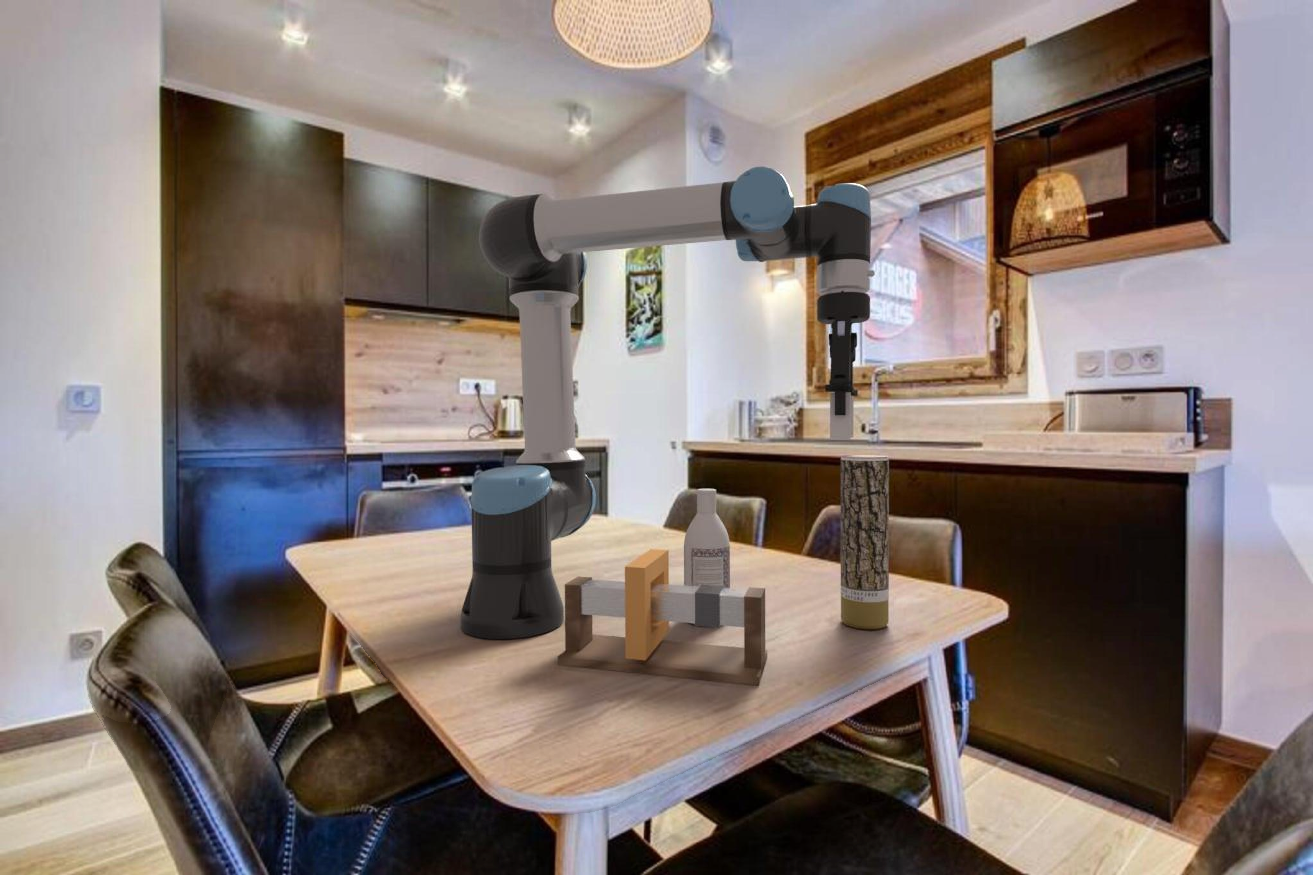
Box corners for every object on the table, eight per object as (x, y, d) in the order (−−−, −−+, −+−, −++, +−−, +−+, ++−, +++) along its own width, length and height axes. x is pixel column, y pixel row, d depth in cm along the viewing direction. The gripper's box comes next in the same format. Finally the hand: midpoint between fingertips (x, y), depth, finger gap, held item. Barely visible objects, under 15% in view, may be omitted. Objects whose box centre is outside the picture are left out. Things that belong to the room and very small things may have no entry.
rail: (576, 615, 82) (576, 584, 82) (588, 607, 86) (587, 577, 86) (748, 629, 76) (748, 596, 76) (752, 619, 80) (752, 587, 80)
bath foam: (739, 623, 96) (738, 490, 96) (698, 629, 93) (698, 492, 93) (715, 611, 102) (714, 486, 102) (676, 617, 99) (675, 488, 99)
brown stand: (557, 664, 80) (557, 588, 80) (585, 640, 89) (584, 572, 89) (759, 685, 73) (758, 602, 73) (767, 657, 82) (767, 583, 82)
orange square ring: (625, 658, 77) (624, 566, 76) (651, 629, 87) (650, 549, 87) (645, 660, 76) (644, 567, 76) (669, 631, 86) (668, 550, 86)
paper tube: (892, 632, 91) (892, 457, 91) (842, 629, 93) (842, 457, 92) (884, 618, 98) (885, 455, 98) (838, 615, 99) (838, 455, 99)
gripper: (869, 274, 82) (868, 441, 82) (870, 307, 105) (869, 436, 106) (809, 278, 84) (808, 440, 85) (823, 310, 108) (822, 436, 108)
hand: (842, 438), depth 95 cm, fingers open, 13 cm apart
